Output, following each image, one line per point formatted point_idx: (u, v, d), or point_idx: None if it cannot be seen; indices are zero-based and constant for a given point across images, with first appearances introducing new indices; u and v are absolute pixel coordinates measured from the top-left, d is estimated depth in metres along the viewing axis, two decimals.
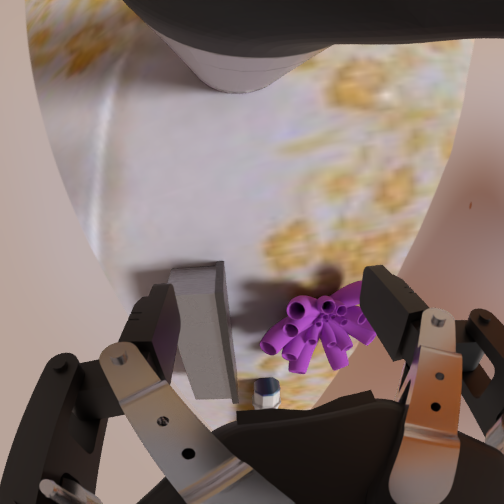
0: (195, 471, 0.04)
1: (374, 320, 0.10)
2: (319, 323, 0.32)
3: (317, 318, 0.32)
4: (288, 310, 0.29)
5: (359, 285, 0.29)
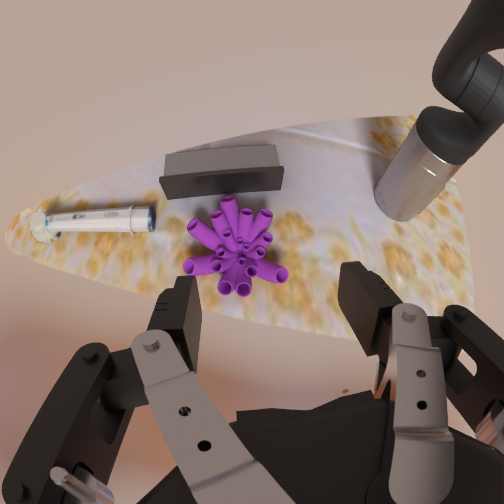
0: (207, 464, 0.04)
1: (350, 315, 0.11)
2: (238, 244, 0.40)
3: (243, 242, 0.40)
4: (263, 210, 0.40)
5: None
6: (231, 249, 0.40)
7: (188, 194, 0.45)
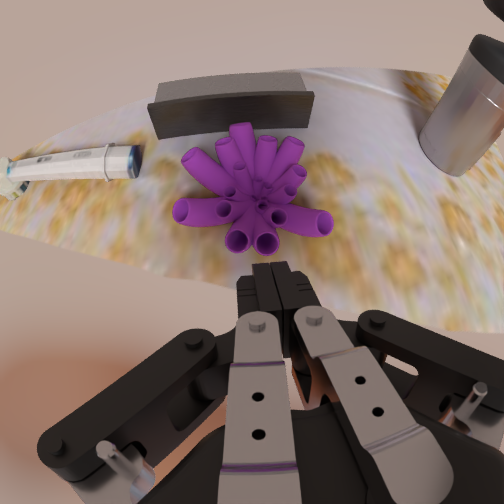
0: (252, 452, 0.04)
1: None
2: None
3: (263, 181, 0.27)
4: (291, 139, 0.27)
5: None
6: (245, 191, 0.27)
7: (186, 130, 0.32)
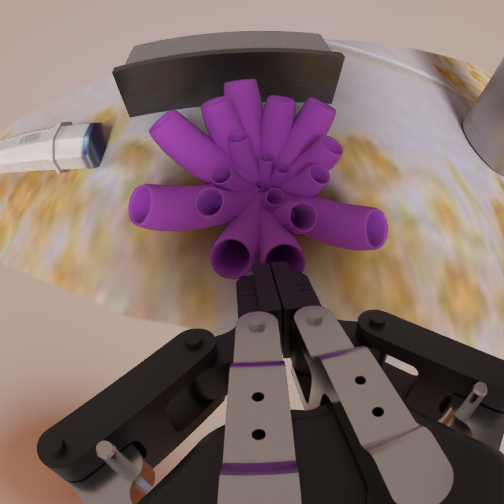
0: (252, 452, 0.04)
1: None
2: None
3: (274, 162, 0.17)
4: None
5: None
6: (246, 176, 0.17)
7: (166, 103, 0.22)
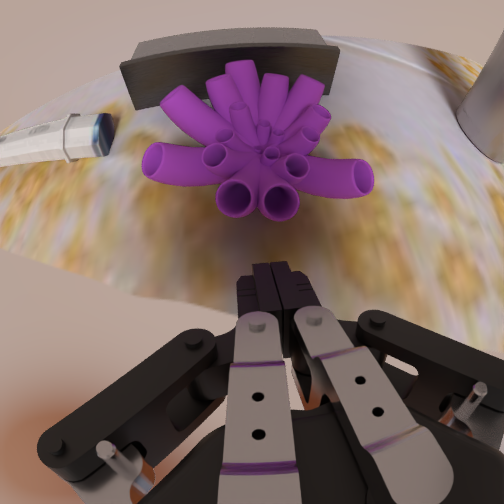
0: (252, 452, 0.04)
1: None
2: None
3: (271, 128, 0.19)
4: None
5: None
6: (246, 141, 0.19)
7: None
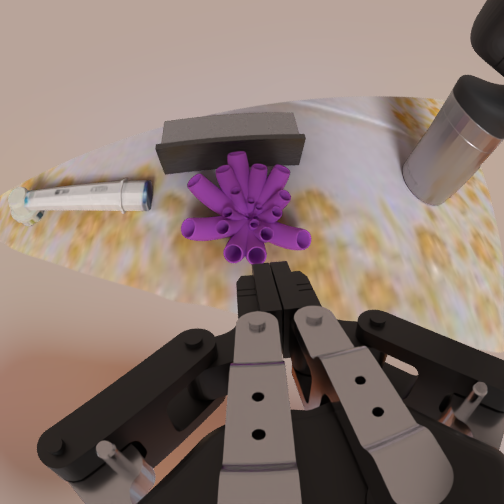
0: (252, 452, 0.04)
1: None
2: (249, 205, 0.33)
3: (255, 203, 0.33)
4: (279, 167, 0.33)
5: None
6: (240, 211, 0.33)
7: (190, 167, 0.37)
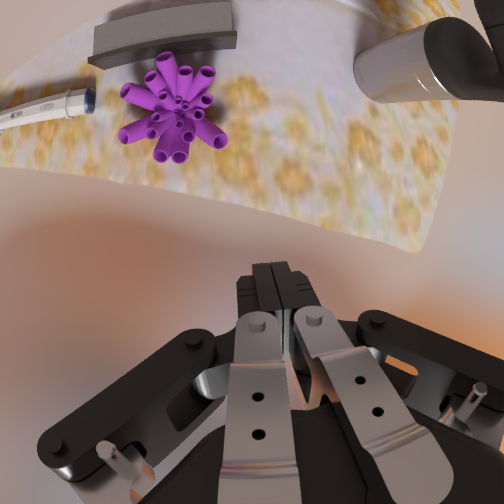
0: (252, 452, 0.04)
1: None
2: (177, 103, 0.31)
3: (182, 101, 0.31)
4: (205, 67, 0.28)
5: (220, 129, 0.33)
6: (169, 108, 0.32)
7: (125, 62, 0.29)
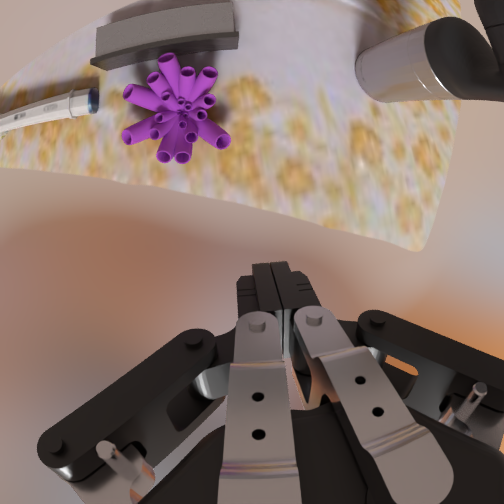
0: (251, 451, 0.04)
1: None
2: (179, 104, 0.32)
3: (185, 101, 0.32)
4: (207, 68, 0.29)
5: None
6: (172, 109, 0.32)
7: (128, 63, 0.30)
